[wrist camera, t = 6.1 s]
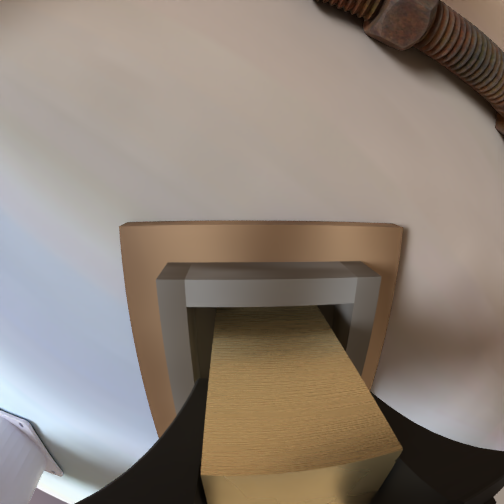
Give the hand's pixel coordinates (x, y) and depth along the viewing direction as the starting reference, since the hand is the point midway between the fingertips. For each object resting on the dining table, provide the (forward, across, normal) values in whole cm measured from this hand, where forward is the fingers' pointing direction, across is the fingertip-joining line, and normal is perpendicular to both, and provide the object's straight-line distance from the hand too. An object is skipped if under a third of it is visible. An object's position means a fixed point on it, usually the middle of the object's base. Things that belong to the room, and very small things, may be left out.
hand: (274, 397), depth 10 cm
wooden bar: (+3, 0, 0) cm, 3 cm away
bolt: (+5, -9, -15) cm, 18 cm away
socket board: (+4, 0, +6) cm, 7 cm away
